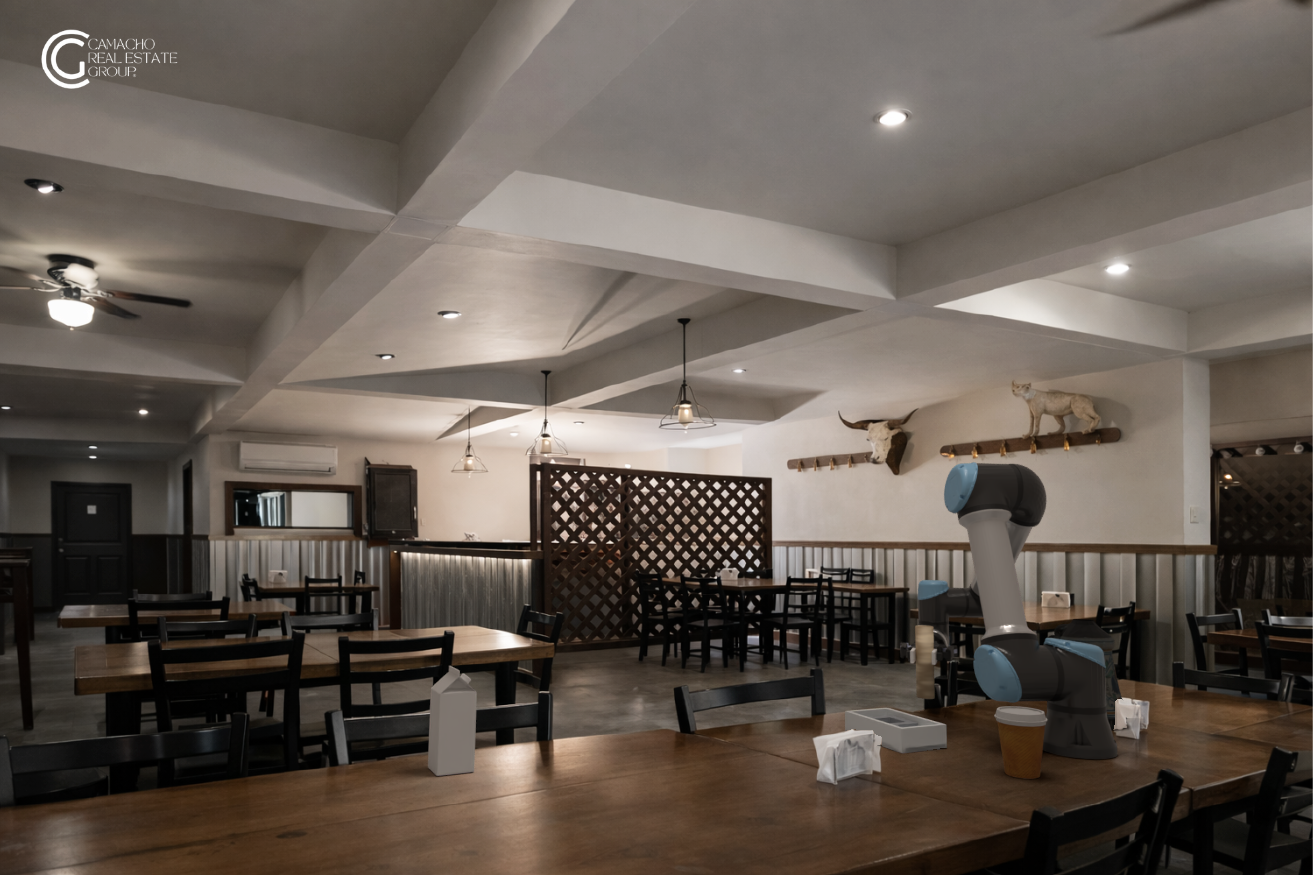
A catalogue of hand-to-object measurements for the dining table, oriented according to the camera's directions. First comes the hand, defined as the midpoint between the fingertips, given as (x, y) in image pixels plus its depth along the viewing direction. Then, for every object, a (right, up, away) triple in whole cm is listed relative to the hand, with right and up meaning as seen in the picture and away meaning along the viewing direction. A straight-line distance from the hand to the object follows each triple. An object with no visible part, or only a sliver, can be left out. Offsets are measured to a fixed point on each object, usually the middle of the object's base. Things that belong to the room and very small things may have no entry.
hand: (922, 657), depth 203 cm
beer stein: (+46, -21, +20) cm, 54 cm away
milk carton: (-99, -14, -31) cm, 105 cm away
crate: (-7, -18, -2) cm, 19 cm away
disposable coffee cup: (+11, -16, -29) cm, 35 cm away
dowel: (+2, -10, +4) cm, 11 cm away
